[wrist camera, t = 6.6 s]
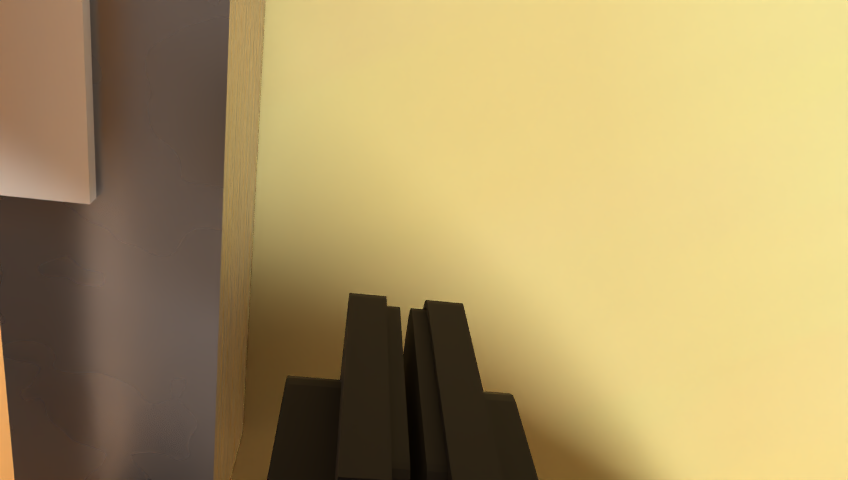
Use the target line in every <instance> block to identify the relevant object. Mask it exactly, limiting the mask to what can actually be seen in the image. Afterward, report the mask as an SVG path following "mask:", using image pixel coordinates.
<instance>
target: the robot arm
mask: <svg viewBox="0 0 848 480" xmlns="http://www.w3.org/2000/svg"><path fill="white" fill-rule="evenodd" d="M267 480H538V477H537V474H536V470H535V467H534V463H533V460H532V457H531V453H530V450H529V446H528V443H527V440H526V436H525V433H524V429H523V426H522V422H521V419H520V416H519V412H518V409H517V405H516V402H515V400H514V397H513V395H511V394H509V393H496V392H484V391H483V388H482V384H481V380H480V375H479V371H478V367H477V362H476V358H475V354H474V349H473V345H472V341H471V336H470V332H469V327H468V323H467V319H466V314H465V310H464V306H463V304H462V303H452V302H441V301H430V300H426V301H425V303H424V307H423V309H413V308H411V309H410V313H409V318H408V325H407V332H406V339H405V346H404V353H403V347H402V331H401V316H400V307H391V306H387V299H386V296H376V295H365V294H354V293H350V294H349V302H348V311H347V320H346V329H345V338H344V348H343V357H342V366H341V375H340V380H334V379H322V378H309V377H297V376H287V379H286V384H285V389H284V394H283V399H282V404H281V410H280V415H279V420H278V425H277V431H276V436H275V441H274V446H273V451H272V457H271V462H270V467H269V472H268V478H267Z"/></svg>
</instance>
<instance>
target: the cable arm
mask: <svg viewBox="0 0 848 480" xmlns="http://www.w3.org/2000/svg"><path fill="white" fill-rule="evenodd" d="M0 480H15V479H14V468H13V457H12V447H11V436H10V425H9V414H8V404H7V393H6V382H5V371H4V360H3V350H2V339H1V328H0Z"/></svg>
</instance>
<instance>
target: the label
mask: <svg viewBox="0 0 848 480" xmlns="http://www.w3.org/2000/svg"><path fill="white" fill-rule="evenodd" d="M0 195H3V196H13V197H23V198H32V199H42V200H52V201H62V202H71V203H81V204H91V203H92V202H93V201H94V200H95V199H96V173H95V144H94V115H93V85H92V56H91V27H90V0H0Z"/></svg>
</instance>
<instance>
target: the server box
mask: <svg viewBox="0 0 848 480" xmlns="http://www.w3.org/2000/svg"><path fill="white" fill-rule="evenodd" d="M264 17H265V0H90V27H91V56H92V85H93V115H94V144H95V173H96V199H95V200H94V201H93V202H92V203H91V204H81V203H71V202H62V201H52V200H42V199H32V198H23V197H13V196H3V195H0V328H1V339H2V350H3V360H4V371H5V382H6V393H7V404H8V414H9V425H10V436H11V447H12V457H13V468H14V479H15V480H231V476H232V472H233V468H234V464H235V460H236V457H237V453H238V449H239V445H240V441H241V437H242V433H243V421H244V402H245V382H246V363H247V344H248V325H249V305H250V286H251V267H252V248H253V228H254V209H255V190H256V171H257V151H258V132H259V113H260V94H261V74H262V55H263V36H264Z"/></svg>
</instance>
